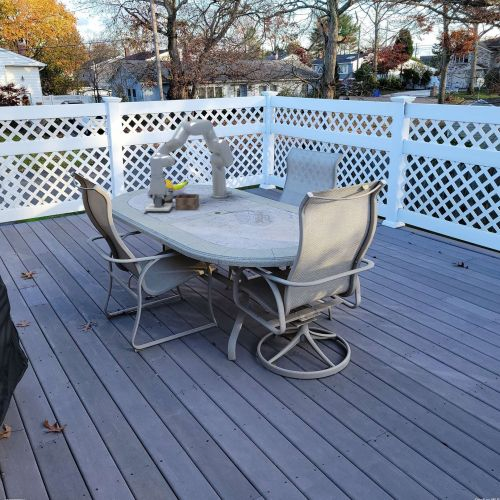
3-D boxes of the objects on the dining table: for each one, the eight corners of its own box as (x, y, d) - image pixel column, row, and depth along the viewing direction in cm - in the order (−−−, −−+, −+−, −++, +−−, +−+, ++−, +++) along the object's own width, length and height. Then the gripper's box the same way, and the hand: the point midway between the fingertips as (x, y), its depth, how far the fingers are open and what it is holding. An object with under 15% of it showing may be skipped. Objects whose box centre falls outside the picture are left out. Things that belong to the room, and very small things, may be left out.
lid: (173, 205, 315) (172, 195, 313) (168, 211, 301) (168, 201, 299) (150, 204, 315) (150, 195, 313) (145, 210, 301) (144, 201, 299)
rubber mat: (174, 207, 316) (174, 206, 316) (169, 214, 301) (169, 213, 300) (150, 207, 317) (150, 206, 316) (144, 214, 302) (144, 212, 301)
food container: (176, 202, 331) (175, 187, 327) (174, 204, 325) (173, 189, 322) (159, 201, 332) (157, 187, 329) (156, 203, 326) (155, 189, 323)
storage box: (199, 205, 320) (198, 194, 318) (196, 210, 308) (195, 198, 305) (179, 205, 321) (179, 194, 318) (176, 210, 309) (175, 198, 306)
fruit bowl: (142, 198, 341) (141, 182, 337) (160, 190, 365) (158, 175, 362) (178, 201, 333) (177, 185, 329) (194, 192, 358) (193, 177, 354)
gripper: (171, 175, 304) (173, 203, 311) (145, 175, 305) (147, 203, 311) (169, 177, 297) (171, 206, 303) (142, 177, 298) (144, 206, 304)
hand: (159, 204), depth 307 cm, fingers open, 4 cm apart
